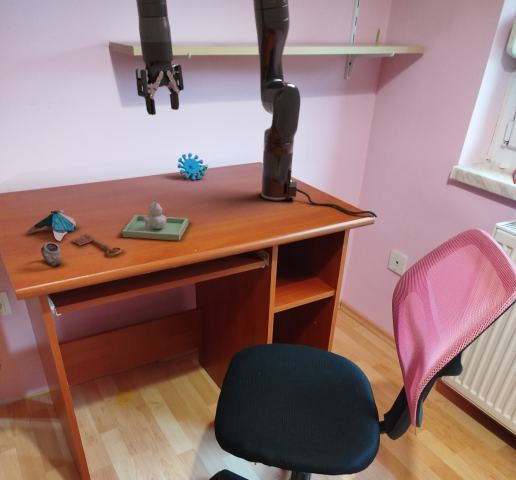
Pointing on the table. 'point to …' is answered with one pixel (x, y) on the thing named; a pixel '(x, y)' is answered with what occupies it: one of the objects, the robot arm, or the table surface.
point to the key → (83, 239)
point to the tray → (169, 232)
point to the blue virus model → (192, 166)
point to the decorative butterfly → (56, 224)
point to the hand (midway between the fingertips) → (163, 111)
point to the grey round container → (51, 253)
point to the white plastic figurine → (155, 217)
